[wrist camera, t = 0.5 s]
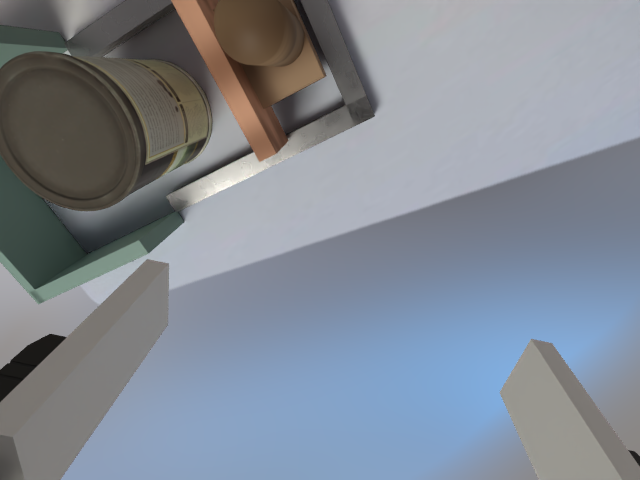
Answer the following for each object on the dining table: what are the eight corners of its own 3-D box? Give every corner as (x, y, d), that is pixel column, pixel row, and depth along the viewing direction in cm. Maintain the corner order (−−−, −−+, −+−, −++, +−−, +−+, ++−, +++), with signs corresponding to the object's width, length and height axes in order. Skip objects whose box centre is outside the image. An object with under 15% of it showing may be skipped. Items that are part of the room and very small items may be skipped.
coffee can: (199, 181, 40) (125, 233, 27) (106, 142, 39) (-16, 177, 26) (225, 85, 35) (152, 93, 23) (122, 39, 34) (-15, 20, 22)
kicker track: (75, 44, 35) (63, 43, 34) (286, -101, 29) (282, -110, 28) (182, 208, 41) (176, 212, 40) (374, 114, 35) (374, 116, 34)
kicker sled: (186, -19, 30) (92, -69, 19) (262, -71, 28) (205, -158, 18) (274, 148, 35) (238, 182, 25) (343, 113, 34) (337, 133, 23)
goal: (-43, 104, 38) (-135, 112, 31) (58, 32, 35) (-20, 22, 27) (88, 267, 46) (38, 304, 38) (184, 221, 42) (148, 253, 35)
